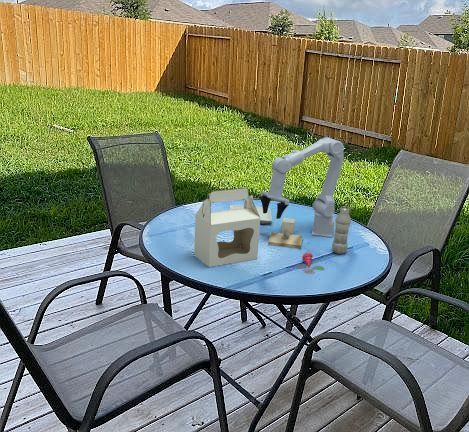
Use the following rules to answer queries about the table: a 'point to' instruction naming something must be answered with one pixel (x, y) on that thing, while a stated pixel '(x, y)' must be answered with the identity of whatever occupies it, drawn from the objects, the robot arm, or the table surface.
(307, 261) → the toy pieces
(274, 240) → the plate
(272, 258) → the table surface
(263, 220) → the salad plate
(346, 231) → the plastic bottle
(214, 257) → the gable box
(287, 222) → the pale matte cube
